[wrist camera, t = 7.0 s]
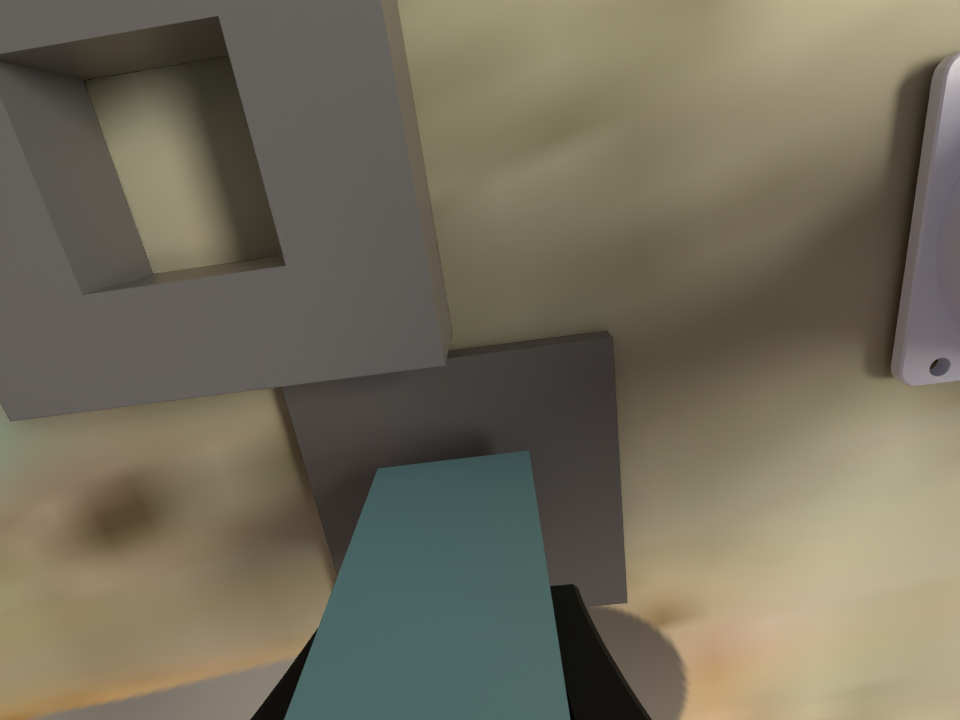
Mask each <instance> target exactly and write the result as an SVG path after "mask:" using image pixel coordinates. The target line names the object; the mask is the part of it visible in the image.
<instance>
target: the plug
mask: <svg viewBox="0 0 960 720" xmlns="http://www.w3.org/2000/svg"><path fill="white" fill-rule="evenodd" d="M284 720H570V714H569V707H568V701H567V694H566V688H565V681H564V675H563V668H562V662H561V655H560V649H559V642H558V636H557V629H556V623H555V616H554V609H553V603H552V596H551V590H550V583H549V577H548V570H547V564H546V557H545V551H544V544H543V538H542V531H541V525H540V518H539V512H538V505H537V499H536V492H535V486H534V479H533V473H532V466H531V460H530V453H529V450H528V451H520V452H511V453H503V454H495V455H486V456H478V457H469V458H461V459H453V460H444V461H436V462H428V463H419V464H411V465H402V466H394V467H386V468H378V469H377V472H376V475H375V477H374V480H373V483H372V485H371V488H370V491H369V493H368V496H367V499H366V501H365V504H364V507H363V509H362V512H361V515H360V518H359V520H358V523H357V526H356V528H355V531H354V534H353V536H352V539H351V542H350V544H349V547H348V550H347V552H346V555H345V558H344V561H343V563H342V566H341V569H340V571H339V574H338V577H337V579H336V582H335V585H334V587H333V590H332V593H331V595H330V598H329V601H328V603H327V606H326V609H325V612H324V614H323V617H322V620H321V622H320V625H319V628H318V630H317V633H316V636H315V638H314V641H313V644H312V646H311V649H310V652H309V655H308V657H307V660H306V663H305V665H304V668H303V671H302V673H301V676H300V679H299V681H298V684H297V687H296V689H295V692H294V695H293V698H292V700H291V703H290V706H289V708H288V711H287V714H286V716H285V719H284Z"/></svg>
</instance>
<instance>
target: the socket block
mask: <svg viewBox="0 0 960 720" xmlns="http://www.w3.org/2000/svg"><path fill="white" fill-rule="evenodd" d="M223 56H229V57H230V61H231V65H232V68H233V72H234V76H235V80H236V83H237V87H238V91H239V94H240V98H241V102H242V105H243V109H244V113H245V117H246V120H247V124H248V128H249V131H250V135H251V139H252V142H253V146H254V150H255V153H256V157H257V161H258V165H259V168H260V172H261V176H262V179H263V183H264V187H265V190H266V194H267V198H268V202H269V205H270V209H271V213H272V216H273V220H274V224H275V227H276V231H277V235H278V239H279V242H280V246H281V250H282V253H283V255H282V256H275V257H268V258H261V259H254V260H247V261H240V262H234V263H227V264H220V265H213V266H206V267H199V268H192V269H185V270H178V271H171V272H164V273H157V274H153V272H152V270H151V267H150V264H149V261H148V259H147V256H146V253H145V250H144V248H143V245H142V242H141V239H140V236H139V234H138V231H137V228H136V225H135V223H134V220H133V217H132V214H131V211H130V209H129V206H128V203H127V200H126V198H125V195H124V192H123V189H122V187H121V184H120V181H119V178H118V175H117V173H116V170H115V167H114V164H113V162H112V159H111V156H110V153H109V151H108V148H107V145H106V142H105V139H104V137H103V134H102V131H101V128H100V126H99V123H98V120H97V117H96V114H95V112H94V109H93V106H92V103H91V101H90V98H89V95H88V92H87V90H86V87H85V84H84V81H83V80H88V79H94V78H100V77H105V76H111V75H117V74H123V73H129V72H135V71H141V70H147V69H153V68H158V67H164V66H170V65H176V64H182V63H188V62H194V61H200V60H205V59H211V58H217V57H223ZM451 337H452V329H451V323H450V317H449V311H448V305H447V299H446V293H445V287H444V281H443V275H442V269H441V263H440V257H439V251H438V245H437V239H436V233H435V227H434V221H433V215H432V209H431V203H430V197H429V191H428V185H427V179H426V173H425V167H424V161H423V155H422V149H421V143H420V137H419V131H418V125H417V119H416V113H415V107H414V101H413V95H412V89H411V83H410V77H409V71H408V65H407V59H406V53H405V47H404V41H403V35H402V29H401V23H400V17H399V11H398V5H397V0H0V403H1V405H2V407H3V409H4V411H5V413H6V415H7V417H8V418H9V420H10V421H17V420H25V419H33V418H40V417H48V416H56V415H64V414H71V413H79V412H87V411H95V410H103V409H110V408H118V407H126V406H134V405H141V404H149V403H157V402H165V401H173V400H180V399H188V398H196V397H204V396H211V395H219V394H227V393H235V392H243V391H250V390H258V389H266V388H274V387H282V386H289V385H297V384H305V383H313V382H320V381H328V380H336V379H344V378H352V377H359V376H367V375H375V374H383V373H390V372H398V371H406V370H414V369H422V368H429V367H437V366H445V364H446V360H447V355H448V351H449V346H450V342H451Z"/></svg>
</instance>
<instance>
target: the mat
mask: <svg viewBox="0 0 960 720" xmlns="http://www.w3.org/2000/svg"><path fill="white" fill-rule="evenodd" d="M282 391H283V394H284V397H285V401H286V404H287V407H288V411H289V414H290V417H291V421H292V424H293V428H294V431H295V434H296V438H297V441H298V444H299V448H300V451H301V454H302V458H303V461H304V464H305V468H306V471H307V475H308V478H309V481H310V485H311V488H312V491H313V495H314V498H315V501H316V505H317V508H318V512H319V515H320V518H321V522H322V525H323V528H324V532H325V535H326V538H327V542H328V545H329V549H330V552H331V555H332V559H333V562H334V565H335V569H336V572H337V575H338V574H339V571H340V569H341V566H342V563H343V561H344V558H345V555H346V552H347V550H348V547H349V544H350V542H351V539H352V536H353V534H354V531H355V528H356V526H357V523H358V520H359V518H360V515H361V512H362V509H363V507H364V504H365V501H366V499H367V496H368V493H369V491H370V488H371V485H372V483H373V480H374V477H375V475H376V472H377V469H378V468H386V467H394V466H402V465H411V464H419V463H428V462H436V461H444V460H453V459H461V458H469V457H478V456H486V455H495V454H503V453H511V452H520V451H528V450H529V453H530V460H531V466H532V473H533V479H534V486H535V492H536V499H537V505H538V512H539V518H540V525H541V531H542V538H543V544H544V551H545V557H546V564H547V570H548V577H549V583H550V586H556V585H566V584H574V585H575V586H576V587H578V588H579V591H580V594H581V597H582V599H583V602H584V604H585V607H590V606H601V605H611V604H621V603H627V588H626V570H625V552H624V534H623V516H622V498H621V480H620V462H619V444H618V426H617V408H616V390H615V372H614V354H613V337H612V336H611V335H610V333H609V332H608V331H601V332H593V333H586V334H578V335H570V336H563V337H555V338H547V339H540V340H532V341H524V342H517V343H509V344H501V345H494V346H486V347H478V348H471V349H463V350H455V351H448V355H447V360H446V364H445V366H437V367H429V368H422V369H414V370H406V371H398V372H390V373H383V374H375V375H367V376H359V377H352V378H344V379H336V380H328V381H320V382H313V383H305V384H297V385H289V386H282Z"/></svg>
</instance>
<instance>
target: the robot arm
mask: <svg viewBox="0 0 960 720" xmlns="http://www.w3.org/2000/svg"><path fill="white" fill-rule="evenodd" d="M936 359H938V362H937V364H936V366H935V367H933V368H932V369H931V370H930V369H929V368H930V366H931V364H932V363H933V362H934V361H935V360H936ZM891 374H892V375H893V377H894V378H895V379H897V380H899V381H901V382H903V383H905V384H907V385H909V386H920V385H928V384H937V383H945V382H953V381H960V51H957V52H954V53H952V54H949V55H948V56H947V57H945V58H944V59H943V60H942V61H941V62H940V63H939V65H938V66H937V67H936V69H935V71H934V74H933V77H932V81H931V88H930V95H929V102H928V109H927V116H926V123H925V130H924V137H923V144H922V151H921V158H920V165H919V172H918V179H917V186H916V194H915V201H914V208H913V215H912V222H911V229H910V236H909V243H908V250H907V257H906V264H905V271H904V278H903V285H902V292H901V299H900V306H899V313H898V320H897V327H896V334H895V341H894V348H893V355H892V362H891ZM550 590H551V596H552V603H553V609H554V616H555V623H556V629H557V636H558V642H559V649H560V655H561V662H562V668H563V675H564V681H565V688H566V694H567V701H568V707H569V714H570V720H652V719H651V718H650V716H649V715H648V713H647V712H646V710H645V709H644V707H643V706H642V705H641V703H640V702H639V700H638V698H637V697H636V695H635V694H634V692H633V691H632V689H631V688H630V686H629V685H628V683H627V681H626V680H625V678H624V676H623V675H622V673H621V671H620V670H619V668H618V666H617V665H616V663H615V661H614V660H613V658H612V656H611V655H610V653H609V651H608V650H607V648H606V646H605V644H604V643H603V641H602V639H601V637H600V635H599V633H598V631H597V629H596V628H595V625H594V624H593V621H592V619H591V617H590V616H589V613H588V611H587V609H586V607H585V604H584V602H583V599H582V597H581V594H580V591H579V588H578V587H576V586H575V585H574V584H566V585H556V586H550ZM318 628H319V627H318ZM317 630H318V629H317ZM317 630H316V631H315V633H314V634H313V636H312V637H311V639H310V640H309V641H308V643H307V644H306V646H305V647H304V648H303V650H302V651H301V653H300V654H299V655H298V657H297V658H296V659H295V661H294V662H293V664H292V665H291V666H290V668H289V669H288V671H287V672H286V674H285V675H284V676H283V678H282V679H281V680H280V681H279V683H278V684H277V685H276V687H275V688H274V689H273V691H272V692H271V693H270V695H269V696H268V697H267V699H266V700H265V701H264V703H263V704H262V705H261V707H260V708H259V709H258V711H257V712H256V713H255V715H254V716H253V717H252V718H251V719H250V720H284V719H285V716H286V714H287V711H288V708H289V706H290V703H291V700H292V698H293V695H294V692H295V689H296V687H297V684H298V681H299V679H300V676H301V673H302V671H303V668H304V665H305V663H306V660H307V657H308V655H309V652H310V649H311V646H312V644H313V641H314V638H315V636H316V633H317Z"/></svg>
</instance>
